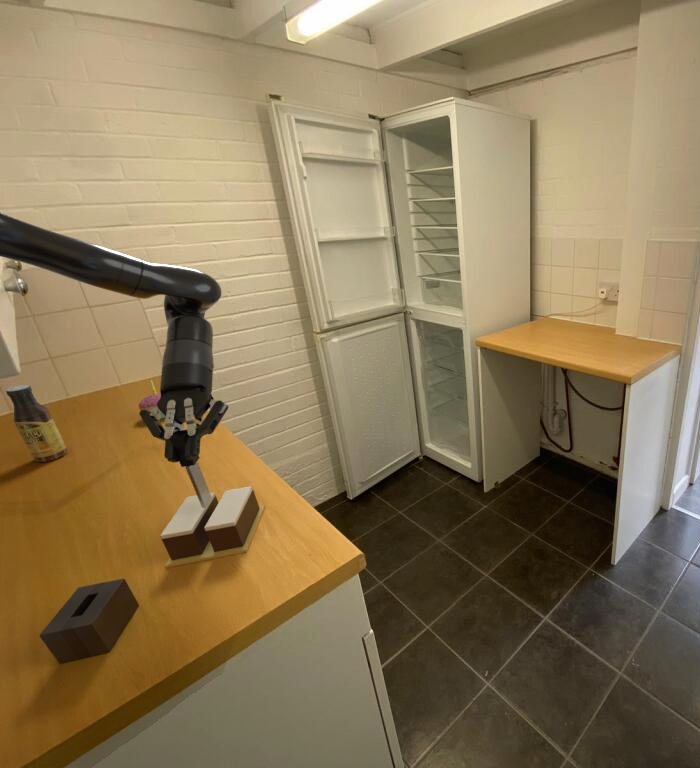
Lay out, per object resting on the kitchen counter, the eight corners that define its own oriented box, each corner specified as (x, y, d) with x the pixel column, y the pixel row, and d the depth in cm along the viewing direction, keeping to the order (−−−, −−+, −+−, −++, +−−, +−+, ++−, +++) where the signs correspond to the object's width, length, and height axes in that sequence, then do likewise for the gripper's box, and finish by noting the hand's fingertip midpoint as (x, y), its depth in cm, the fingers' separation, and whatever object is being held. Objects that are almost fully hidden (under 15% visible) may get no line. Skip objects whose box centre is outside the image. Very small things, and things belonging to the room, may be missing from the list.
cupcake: (151, 412, 132) (136, 377, 127) (182, 407, 134) (169, 373, 130) (139, 425, 124) (123, 388, 119) (173, 419, 127) (159, 383, 122)
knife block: (95, 614, 66) (78, 587, 63) (139, 605, 67) (124, 578, 65) (59, 664, 59) (38, 635, 56) (109, 652, 60) (91, 624, 58)
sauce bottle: (28, 464, 106) (-14, 393, 98) (52, 450, 112) (14, 383, 104) (54, 463, 106) (15, 392, 99) (77, 449, 112) (41, 382, 104)
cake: (196, 519, 85) (185, 494, 83) (265, 506, 88) (257, 482, 86) (165, 568, 74) (152, 540, 71) (246, 552, 77) (236, 525, 74)
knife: (204, 498, 79) (176, 430, 73) (216, 496, 80) (189, 428, 74) (197, 508, 77) (168, 438, 70) (210, 506, 77) (181, 436, 71)
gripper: (131, 365, 73) (119, 462, 67) (220, 356, 76) (216, 448, 70) (157, 381, 80) (149, 471, 74) (238, 372, 83) (236, 458, 77)
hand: (182, 459), depth 72 cm, fingers closed on knife, 2 cm apart
